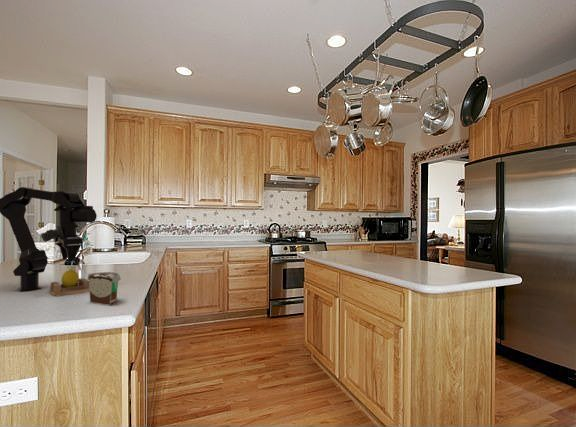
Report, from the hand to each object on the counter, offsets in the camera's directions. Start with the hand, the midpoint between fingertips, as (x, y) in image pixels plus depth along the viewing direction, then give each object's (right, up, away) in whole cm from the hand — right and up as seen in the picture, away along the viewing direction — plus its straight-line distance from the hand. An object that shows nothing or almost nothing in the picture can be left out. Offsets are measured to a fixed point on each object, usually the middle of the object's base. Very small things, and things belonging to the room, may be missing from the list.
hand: (67, 260), depth 122 cm
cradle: (+3, -12, -2) cm, 13 cm away
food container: (+25, -12, -15) cm, 32 cm away
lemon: (+3, -11, -2) cm, 12 cm away
